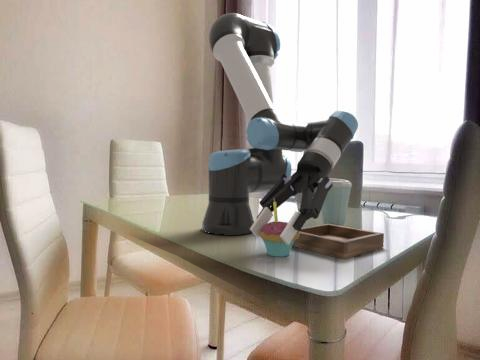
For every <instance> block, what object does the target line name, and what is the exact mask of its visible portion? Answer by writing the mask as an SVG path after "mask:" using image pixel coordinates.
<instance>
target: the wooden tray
mask: <svg viewBox="0 0 480 360" xmlns="http://www.w3.org/2000/svg"><path fill="white" fill-rule="evenodd" d="M299 233H300V236H299V239H296V240H295V241H294V243H293V245H292V247H294V248H295V247H296V248H300V249H303V250H307V251H311V252H315V253H319V254H322V255H326V256H331V257H335V258H337V259H342V260H346V259H349V258H352V257H357V256H360V255H363V253H364V254H367V253H366V252H368V253H370V251H371V252H374V251H373V250H375V251H377V250H376V249H378V250H380V249H379V248H382V247H383V248H384V242H385V241H384V240H385V233H382V232H377V231H373V230H365V229H361V228H355V227H350V226H345V225H344V226H339V225H333V224H317V225H312V226H311V225H310V226H305V227H304V226H303V227H302V228H301V230H300V231H299ZM383 248H382V249H383Z"/></svg>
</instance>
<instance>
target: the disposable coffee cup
mask: <svg viewBox="0 0 480 360" xmlns="http://www.w3.org/2000/svg"><path fill="white" fill-rule="evenodd" d="M328 178H329V179H330V181H331V183H332V184H333V186H332V187H331V189H330V190H329V191H328V193H327V196H326V198H325V201H324V203H323V206H322V209H321V211H320V214H321V220H322V223H323V224H333V225H339V226H345V224H346V218H347V214H348V207H349V202H350V195H351V190H352V186H353V185H352V182H351V181H350V180H346V179H341V178H334V177H328Z"/></svg>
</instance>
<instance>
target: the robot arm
mask: <svg viewBox="0 0 480 360" xmlns="http://www.w3.org/2000/svg"><path fill="white" fill-rule="evenodd" d="M280 38H281V37H280V34H279V32H278V30H277V29H276V28H275V27H274V26H272V25H271V24H268V23H267V22H264V21H258V20H255V19H253V18H250V17H247V16H245V15H241V14H240V13H236V12H229V13H225V14H222V15H221V16H218V18H216V20H214V22H213V23H212V25H211V27H210V29H209V33H208V42H209V47H210V51H211V53H212V55H213V57H214V59H215V60H217V61H218V62H220V63H221V65H222V67H223V69H224V70H223V71H224V72H225V74H226V76H227V78H228V80H229V83H230V85H231V86H232V88H233V91H234V93H235V95H236V98H237V100H238V101H239V103H240V106H241V108H242V110H243V111H244V114H245V116H246V124H247V126H246V141H247V142H248V145H247V147H246V148H238V149H229V150H228V149H227V150H219V151H213V152H212V153H211V154H210V156H209V161H208V167H207V168H208V204H207V207H206V210H205V212H204V213H205V214H204V217H203V220H202V224H201V226H202V227H201V231H202V230H203V231H202V232H204V231H206V232H209V233H208V234H210V233H214V234H213V235H217V234H224V235H223V236H240V235H241V236H243V235H248V234H253V235H254V236H255V237H256V238H259V237H260V232H261V231H260V230H261V229H262V227H263V226H264V225H266V224H268V223H270V221H271V219H272V218H273V217H274V205H273V202H274V199H275V202H276V206H277V209H278V208H279V207H280V206H282V205H283V204H284V203H285V202H287V200H289V199H290V198H291V197H295V196H296V195H297V194H301V193H302V195H301V201H300V207H299V208H297V210H298V211H299V212H298V211H295V212H294V213H293V215H292V217H290V220H289V221H288V222H287V223H288V224H287V226H286V227H285V229H284V230H283V232H282V233H281V235H280V237H281V239H282V240H283V241H284V242H285V244H287V245H289V244H290V242H291V241H292V239H293V237H294V236H295V234H296V233H297V231H300V230H301V228H304V225H305V224H306V222H307V221H308V220H310V219H311V218H312V219H314V220H317V219H318V218H319V216H320V214H321V209H322V206H323V203H324V201H325V198H326V196H327V193H328V191H329V190H330V189H331V187H332V186H333V184H332V183H331V181H330V179H329V178H330V177H329V175H330V174H331V172H332V171H333V169H334V168H335V166H336V164H337V163H338V161H339V159H340V158H341V156H342V155H343V154H344V151H345V150H346V148H347V147H348V146H349V144H350V142H351V141H352V140H353V139H354V136H355V134H356V132H357V130H358V127H359V123H358V122H359V121H358V120H357V118H356V117H355V116H354V114H353V113H351V112H349V111H347V110H344V109H340V110H339V109H338V110H335V111H334V112H333V113H332V114H331V115H329V116H328V119H325V120H318V121H311V122H299V121H292V120H291V121H290V120H284V119H281V117H280V115H279V113H278V111H277V109H276V108H275V106H274V99H273V98H274V97H273V86H272V75H271V67H272V66H273V65H274V64H275V60H276V59H277V57H278V56H279V51H280V50H281V39H280ZM283 151H289V152H294V153H295V152H296V153H302V152H304V153H303V155H302V157H301V158H300V160H299V161H298V162H297V165H296V166H297V167H296V170H295V172H294V173H292V163H291V160H290V159H289V158H288V157H287V156H285V154H283ZM251 193H253V194H254V193H255V194H256V193H266V194H265V195H264V196H263V197H262V198H261V199H260V200H259V202H258V203H259V205H260V206H261V207H262V208H261V211H259V213H258V215H257V216H256V219H255V221H254V217H253V213H252V209H251V206H250V194H251ZM206 232H205V233H206Z"/></svg>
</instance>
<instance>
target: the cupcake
mask: <svg viewBox="0 0 480 360" xmlns="http://www.w3.org/2000/svg"><path fill="white" fill-rule="evenodd" d="M273 205H274V211H273V217H274V221H269V222H268V223H267V224H266V225H264V226H263V227H262V229H261V230H260V231H261V232H260V235H259V237H260V238H261V239H262V241H263V244H264V246H265V250H266V253H267V255H269V256H271V257H275V258H276V257H280V258H281V257H282V258H283V257H288V256H289V255H290V253H291V250H292V247H293V246H292V245H293V243H294V241H295V240H296V239H299V236H300V233H299V231H297V233H296V234H295V236H294V237H293V239H292V241H291V242H290V244H289V245H287V244H285V242H284V241H283V240H282V239H281V237H280V235H281V233H282V232H283V230H284V229H285V227H286V226H287V224H288V223H289V222H287V221H279V220H278V208H277V206H276V202H275V199H274V202H273Z"/></svg>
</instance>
